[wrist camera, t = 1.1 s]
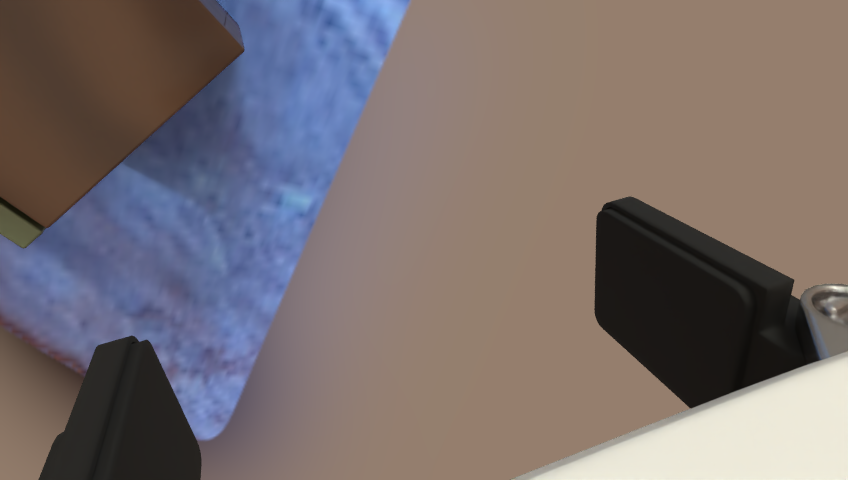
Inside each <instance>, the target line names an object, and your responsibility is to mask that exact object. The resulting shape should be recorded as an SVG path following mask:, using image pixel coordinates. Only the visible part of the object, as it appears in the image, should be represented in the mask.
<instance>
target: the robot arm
mask: <svg viewBox="0 0 848 480" xmlns="http://www.w3.org/2000/svg"><path fill="white" fill-rule="evenodd" d="M596 226H597V227H596V268H595V271H596V272H595V316H596V319H597V321H598V323H599V325H600V326H601V327H602V328H603V329H604V330H605V331H606V332H607V333H608V334H609V335H610V336H612V337H613V338H614V339H615V340H616V341H617V342H618V343H619V344H620V345H621V346H623V347H624V348H625V349H626V350H627V351H628V352H629V353H630V354H631V355H632V356H634V357H635V358H636V359H637V360H638V361H639V362H640V363H641V364H642V365H643V366H644V367H646V368H647V369H648V370H649V371H650V372H651V373H652V374H653V375H655V376H656V377H657V378H658V379H659V380H660V381H661V382H662V383H663V384H665V386H667V387H668V388H669V389H670V390H671V391H672V392H673V393H674V394H675V395H676V396H677V397H679V398H680V399H681V400H682V401H683V402H684V403H685V404H686V405H687V406H688V407H690V408H691V409H689V410H686V411H683V412H681V413H678V414H676V415H673V416H671V417H668V418H665V419H663V420H660V421H658V422H655V423H653V424H650V425H647V426H645V427H642V428H640V429H637V430H635V431H632V432H629V433H627V434H624V435H622V436H619V437H617V438H614V439H612V440H609V441H607V442H604V443H602V444H599V445H596V446H594V447H591V448H589V449H586V450H584V451H581V452H579V453H576V454H574V455H571V456H568V457H566V458H563V459H561V460H558V461H556V462H553V463H551V464H548V465H546V466H543V467H541V468H538V469H536V470H533V471H531V472H528V473H525V474H523V475H520V476H518V477H515V478H513V479H510V480H848V285H844V284H823V285H816V286H813V287H811V288H808V289H806V290H805V291H804V293H803V294H802V295H801V298H800V300H799V299H797V298H795V297H794V296H792V295H791V292H792V288H793V283H794V279H792V278H790V277H788V276H786V275H784V274H782V273H780V272H778V271H776V270H774V269H772V268H770V267H768V266H766V265H764V264H762V263H760V262H758V261H756V260H755V259H753V258H751V257H749V256H747V255H745V254H743V253H741V252H739V251H737V250H735V249H733V248H731V247H729V246H727V245H725V244H724V243H721V242H720V241H718V240H716V239H714V238H712V237H710V236H708V235H706V234H704V233H702V232H700V231H698V230H696V229H694V228H692V227H690V226H689V225H686V224H684V223H683V222H681V221H679V220H677V219H675V218H673V217H671V216H669V215H667V214H665V213H663V212H661V211H659V210H657V209H655V208H653V207H651V206H650V205H648V204H646V203H644V202H642V201H640V200H638V199H636V198H634V197H626V198H622V199H619V200H615V201H612V202H609V203H606V204H605V205H604V206H603V208H602V211H600V212H599V213H598V215H597V225H596ZM200 478H201V453H200V449H199V445H198V443H197V440H196V438H195V436H194V434H193V432H192V430H191V428H190V425H189V423H188V421H187V419H186V417H185V415H184V413H183V411H182V408H181V406H180V404H179V402H178V400H177V398H176V396H175V394H174V391H173V389H172V387H171V385H170V383H169V381H168V379H167V377H166V374H165V372H164V370H163V368H162V366H161V364H160V362H159V360H158V357H157V355H156V353H155V351H154V349H153V347H152V345H151V343H150V342H149V341H148V340H144V341H141V342H139V341H138V340H137V338H136V337H134V336H129V337H126V338H122V339H119V340H115V341H111V342H108V343H104V344H101V345H98V346H97V347H96V349H95V352H94V354H93V357H92V360H91V362H90V365H89V367H88V370H87V373H86V375H85V378H84V381H83V383H82V386H81V389H80V391H79V394H78V397H77V399H76V402H75V405H74V407H73V410H72V412H71V415H70V418H69V420H68V423H67V425H66V428H65V431H64V432H62V433H61V434H59V435H58V436H57V437H56V439H55V441H54V443H53V444H52V447H51V450H50V452H49V455H48V457H47V460H46V463H45V465H44V467H43V470H42V472H41V475H40V478H39V480H200Z"/></svg>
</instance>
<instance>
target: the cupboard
mask: <svg viewBox="0 0 848 480" xmlns="http://www.w3.org/2000/svg"><path fill="white" fill-rule="evenodd" d="M243 52H244V45H243V41H242V36H241V32H240V28H239V25H238V24H237V23H236V22H235V21H234V20H233V19H232V18H231V16H230V15H229V14H228V13H227V12H226V11H225V10H224V9H223V8H222V6H221V5H220V4H219V3H218V2H217V1H216V0H0V197H1V198H3V199H4V200H6V201H7V202H9V203H10V204H12V205H13V206H14V207H16V208H17V209H19V210H20V211H22V212H23V213H25V214H26V215H28V216H29V217H30V218H32V219H33V220H35V221H36V222H38V223H39V224H41V225H42V226H44V227H45V228H49V227H50V226H51V225H52V224H53V223H55V222H56V221H57V220H58V219H59V218H60V217H61V216H62V215H63V214H65V213H66V212H67V211H68V210H69V209H70V208H71V207H72V206H73V205H75V204H76V203H77V202H78V201H79V200H80V199H81V198H82V197H83V196H85V195H86V194H87V193H88V192H89V191H90V190H91V189H92V188H93V187H94V186H96V185H97V184H98V183H99V182H100V181H101V180H102V179H103V178H104V177H106V176H107V175H108V174H109V173H110V172H111V171H112V170H113V169H114V168H116V167H117V166H118V165H119V164H120V163H121V162H122V161H123V160H124V159H126V158H127V157H128V156H129V155H130V154H131V153H132V152H133V151H134V150H135V149H137V148H138V147H139V146H140V145H141V144H142V143H143V142H144V141H145V140H147V139H148V138H149V137H150V136H151V135H152V134H153V133H154V132H155V131H157V130H158V129H159V128H160V127H161V126H162V125H163V124H164V123H165V122H167V121H168V120H169V119H170V118H171V117H172V116H173V115H174V114H175V113H176V112H178V111H179V110H180V109H181V108H182V107H183V106H184V105H185V104H186V103H188V102H189V101H190V100H191V99H192V98H193V97H194V96H195V95H196V94H198V93H199V92H200V91H201V90H202V89H203V88H204V87H205V86H206V85H208V84H209V83H210V82H211V81H212V80H213V79H214V78H215V77H216V76H217V75H219V74H220V73H221V72H222V71H223V70H224V69H225V68H226V67H227V66H229V65H230V64H231V63H232V62H233V61H234V60H235V59H236V58H237V57H239V56H240V55H241V54H242V53H243Z"/></svg>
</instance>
